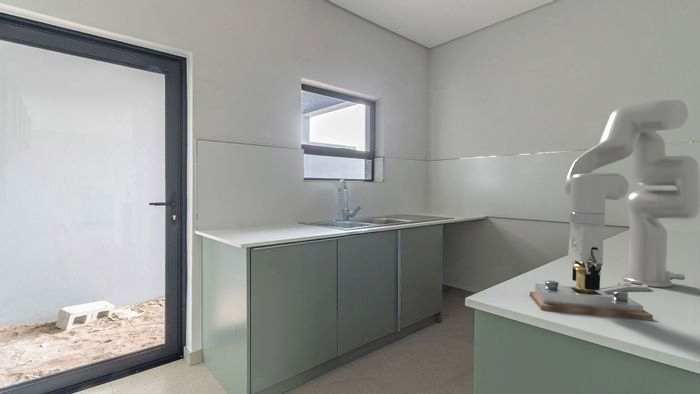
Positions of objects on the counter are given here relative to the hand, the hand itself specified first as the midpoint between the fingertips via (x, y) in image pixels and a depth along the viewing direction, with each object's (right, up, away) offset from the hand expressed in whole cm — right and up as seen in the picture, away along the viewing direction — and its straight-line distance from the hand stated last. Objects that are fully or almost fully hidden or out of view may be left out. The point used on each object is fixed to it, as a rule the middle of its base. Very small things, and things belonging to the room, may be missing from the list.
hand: (585, 284), depth 88 cm
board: (0, -6, 0) cm, 6 cm away
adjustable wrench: (+19, -6, +15) cm, 25 cm away
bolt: (0, -5, 0) cm, 5 cm away
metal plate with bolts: (0, -5, 0) cm, 5 cm away
